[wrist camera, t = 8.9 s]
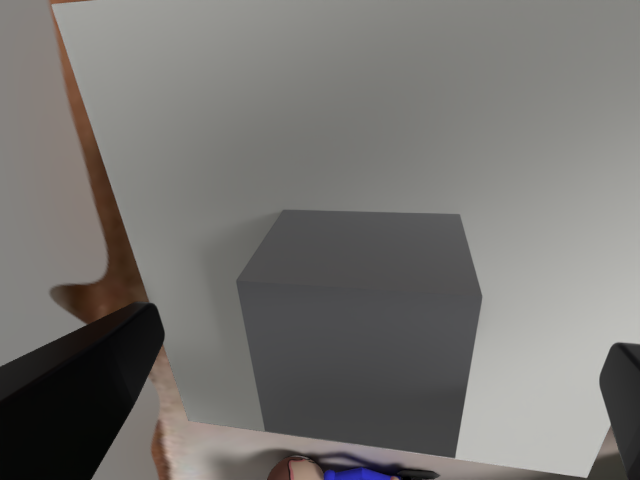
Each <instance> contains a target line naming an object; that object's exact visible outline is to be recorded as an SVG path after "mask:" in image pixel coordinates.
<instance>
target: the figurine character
mask: <svg viewBox="0 0 640 480" xmlns="http://www.w3.org/2000/svg"><path fill="white" fill-rule="evenodd" d="M396 474H397V475H399V476H388V475H385V474H381V473H378V472H375V471H372V470H369V469H365V468H363V467H360V468H357V469H352V470H347V471H342V472H337V473H336V472H335V471H333V470H327V471H326V472H325V473H324V474H323V472H322V470H321V469H320V467H319V466H318V465H317V464H316V463H315V462H314V461H312V460H311V459H309V458H306V457H303V456H291V457H287V458H285V459H283V460H282V461H280V462H279V463H278V464H277V465H276V466H275V467H274V468H273V469H272V471H271V472H270V474H269V476H268V478H267V480H401V478H400V476H401V477H402V478H403V479H402V480H411V478H414V479H413V480H422V479H435V478H437V477H439V476H440V475H438V474H436V473H434V472H428V471H406V470H402V471H400V472H398V473H396Z"/></svg>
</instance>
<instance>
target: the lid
mask: <svg viewBox="0 0 640 480" xmlns="http://www.w3.org/2000/svg"><path fill="white" fill-rule="evenodd" d="M51 5H52V8H53V11H54V14H55V17H56V20H57V23H58V26H59V29H60V32H61V35H62V38H63V42H64V45H65V48H66V51H67V54H68V57H69V60H70V63H71V66H72V69H73V72H74V75H75V78H76V81H77V84H78V87H79V90H80V93H81V96H82V99H83V102H84V105H85V108H86V111H87V114H88V117H89V120H90V123H91V126H92V129H93V133H94V136H95V139H96V142H97V145H98V148H99V151H100V154H101V157H102V160H103V163H104V166H105V169H106V172H107V175H108V178H109V181H110V184H111V187H112V190H113V193H114V196H115V199H116V202H117V205H118V208H119V211H120V214H121V217H122V220H123V224H124V227H125V230H126V233H127V236H128V239H129V242H130V245H131V248H132V251H133V254H134V257H135V260H136V263H137V266H138V269H139V272H140V275H141V278H142V281H143V284H144V287H145V290H146V293H147V296H148V299H149V302H150V303H153V304H155V305H156V306H157V308H158V311H159V314H160V317H161V321H162V324H163V327H164V330H165V338H164V342H163V345H164V348H165V351H166V354H167V357H168V360H169V363H170V366H171V369H172V372H173V375H174V378H175V381H176V384H177V387H178V390H179V393H180V396H181V399H182V403H183V406H184V409H185V412H186V415H187V418H188V421H193V422H200V423H207V424H214V425H221V426H228V427H235V428H242V429H249V430H256V431H263V432H270V433H277V434H284V435H291V436H298V437H305V438H312V439H319V440H326V441H333V442H340V443H347V444H354V445H361V446H368V447H375V448H382V449H389V450H396V451H403V452H410V453H417V454H424V455H431V456H438V457H445V458H451V459H458V460H465V461H472V462H479V463H486V464H493V465H500V466H507V467H514V468H521V469H528V470H535V471H542V472H549V473H556V474H563V475H570V476H577V477H584V478H587V477H588V475H589V472H590V470H591V468H592V466H593V463H594V461H595V459H596V457H597V454H598V452H599V450H600V448H601V445H602V443H603V441H604V439H605V436H606V434H607V432H608V430H609V427H610V425H611V423H610V420H609V417H608V413H607V410H606V407H605V403H604V400H603V397H602V393H601V390H600V386H599V376H600V373H601V370H602V368H603V365H604V363H605V360H606V357H607V355H608V352H609V350H610V348H611V346H612V345H613V344H614V343H617V342H624V343H636V344H640V0H93V1H83V2H72V3H61V4H51Z"/></svg>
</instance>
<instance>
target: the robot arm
mask: <svg viewBox="0 0 640 480" xmlns="http://www.w3.org/2000/svg"><path fill="white" fill-rule="evenodd" d="M164 338H165V330H164V327H163V324H162V321H161V317H160V314H159V311H158V308H157V306H156V305H155V304H153V303H150V302H134V303H132V304H130V305H128V306H126V307H123V308H121V309H119V310H117V311H115V312H113V313H111V314H109V315H107V316H105V317H103V318H101V319H98V320H96V321H94V322H92V323H90V324H88V325H86V326H84V327H82V328H80V329H78V330H76V331H74V332H71V333H69V334H67V335H65V336H63V337H61V338H59V339H57V340H55V341H53V342H51V343H49V344H46V345H44V346H42V347H40V348H38V349H36V350H34V351H32V352H30V353H28V354H26V355H23V356H22V357H19V358H17V359H15V360H13V361H11V362H9V363H7V364H5V365H3V366H1V367H0V480H91V479H92V477H93V475H94V474H95V472H96V470H97V468H98V467H99V465H100V463H101V462H102V460H103V458H104V457H105V455H106V453H107V451H108V449H109V448H110V446H111V445H112V443H113V441H114V439H115V438H116V436H117V434H118V432H119V431H120V429H121V427H122V426H123V424H124V422H125V420H126V419H127V417H128V415H129V413H130V412H131V410H132V408H133V406H134V404H135V402H136V400H137V398H138V396H139V394H140V392H141V390H142V388H143V386H144V384H145V381H146V379H147V377H148V375H149V373H150V371H151V368H152V366H153V364H154V362H155V360H156V357H157V355H158V353H159V351H160V349H161V347H162V344H163V342H164ZM599 386H600V390H601V393H602V397H603V400H604V403H605V407H606V410H607V413H608V417H609V420H610V423H611V426H612V430H613V433H614V436H615V440H616V443H617V446H618V450H619V453H620V456H621V459H622V462H623V465H624V468H625V471H626V474H627V477H628V479H629V480H640V344H636V343H624V342H617V343H614V344H613V345H612V346H611V348H610V350H609V352H608V355H607V357H606V360H605V363H604V365H603V368H602V370H601V373H600V376H599Z"/></svg>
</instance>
